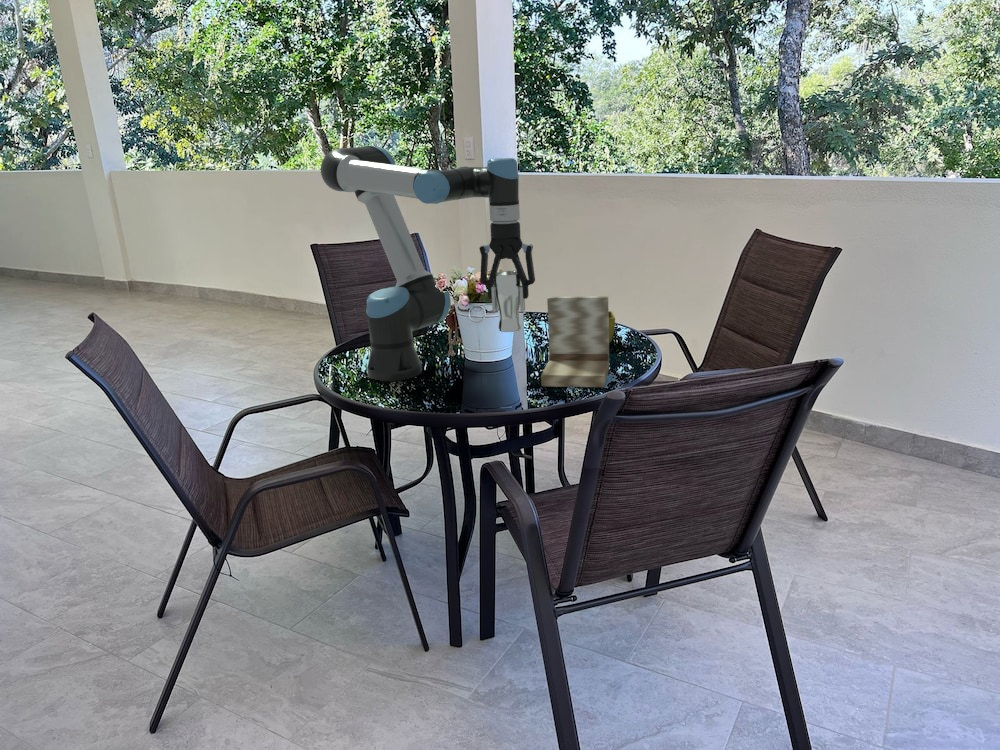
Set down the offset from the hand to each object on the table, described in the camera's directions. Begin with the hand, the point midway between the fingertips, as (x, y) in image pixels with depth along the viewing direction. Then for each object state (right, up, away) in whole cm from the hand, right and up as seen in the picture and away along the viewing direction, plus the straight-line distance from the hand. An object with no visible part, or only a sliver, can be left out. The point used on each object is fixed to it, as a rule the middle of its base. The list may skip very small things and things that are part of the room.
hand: (508, 310), depth 200 cm
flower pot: (+28, -8, +31) cm, 43 cm away
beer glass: (0, -5, +2) cm, 5 cm away
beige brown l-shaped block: (+18, -18, +1) cm, 25 cm away
